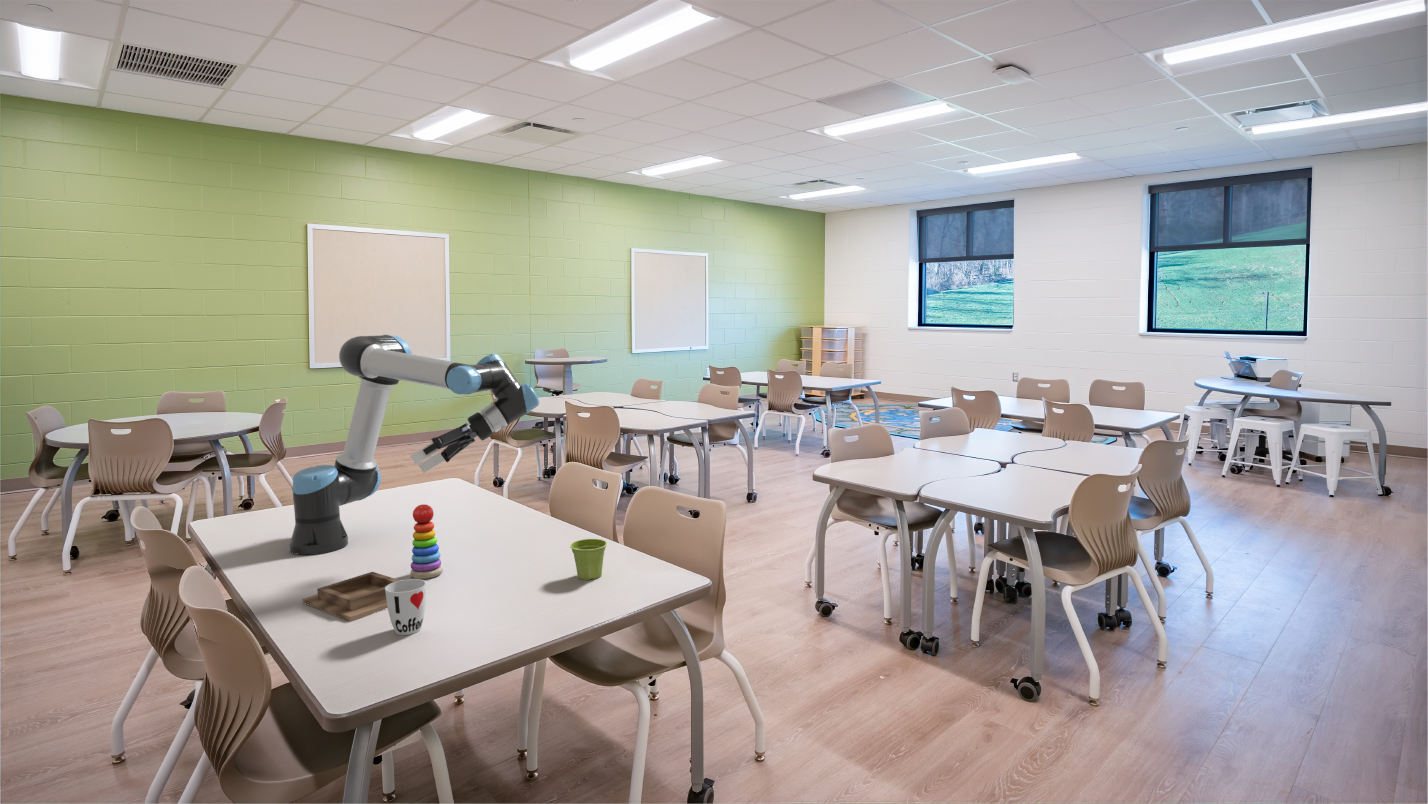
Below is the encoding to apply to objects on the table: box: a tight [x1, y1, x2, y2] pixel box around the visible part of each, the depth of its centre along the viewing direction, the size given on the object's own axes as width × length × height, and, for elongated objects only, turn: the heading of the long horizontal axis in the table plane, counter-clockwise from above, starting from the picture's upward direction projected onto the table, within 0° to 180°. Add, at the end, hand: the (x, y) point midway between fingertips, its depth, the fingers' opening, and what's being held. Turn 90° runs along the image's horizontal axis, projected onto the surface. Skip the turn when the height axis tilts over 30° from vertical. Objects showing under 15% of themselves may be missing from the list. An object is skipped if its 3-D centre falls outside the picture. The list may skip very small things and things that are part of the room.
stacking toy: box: [410, 503, 444, 580], centre depth 193 cm, size 8×8×19 cm
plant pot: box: [569, 538, 608, 581], centre depth 192 cm, size 9×9×9 cm
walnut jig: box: [302, 571, 402, 622], centre depth 177 cm, size 20×18×4 cm
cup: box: [385, 578, 427, 636], centre depth 159 cm, size 8×8×10 cm
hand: (417, 464), depth 199 cm, fingers open, 13 cm apart
